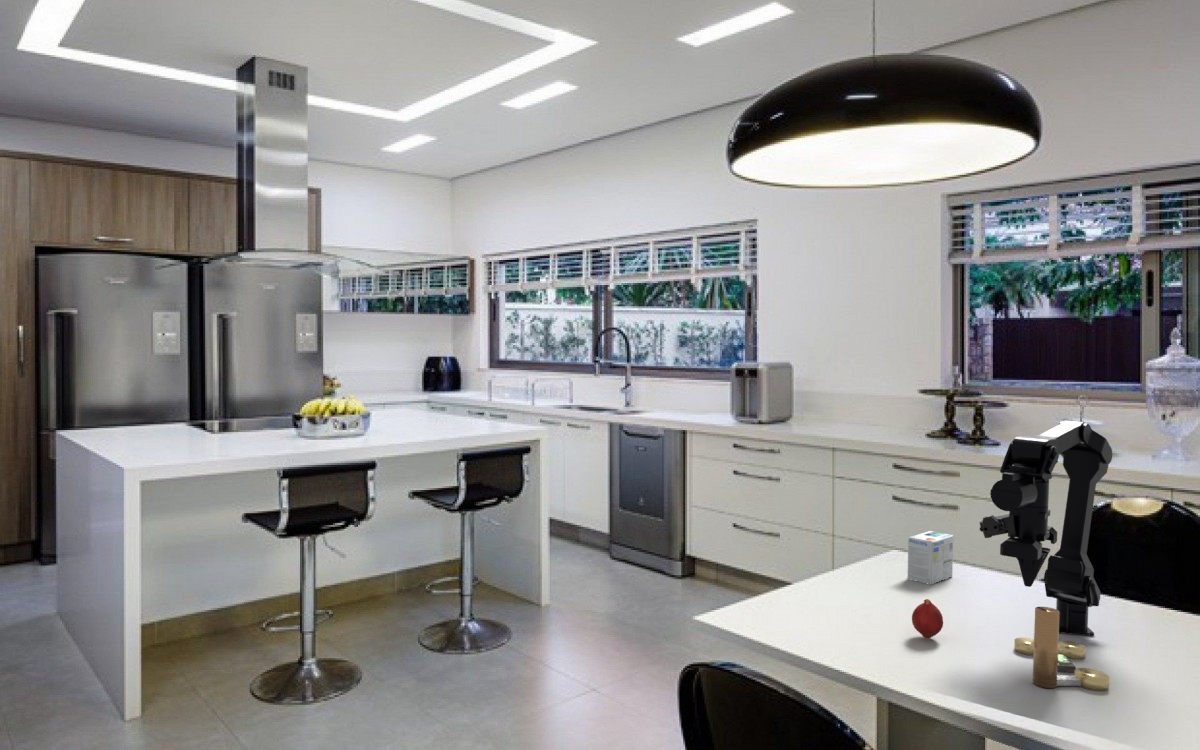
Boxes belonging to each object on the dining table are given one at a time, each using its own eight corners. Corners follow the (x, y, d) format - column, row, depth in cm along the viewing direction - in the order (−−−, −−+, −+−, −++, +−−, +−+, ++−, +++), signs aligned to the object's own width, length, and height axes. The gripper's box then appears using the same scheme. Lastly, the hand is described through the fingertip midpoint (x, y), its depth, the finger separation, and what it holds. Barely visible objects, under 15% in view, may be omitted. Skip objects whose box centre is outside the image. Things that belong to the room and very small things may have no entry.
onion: (917, 630, 166) (918, 592, 166) (946, 637, 162) (947, 598, 162) (907, 638, 162) (908, 599, 161) (937, 646, 158) (938, 605, 157)
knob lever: (1096, 678, 140) (1099, 605, 140) (1115, 690, 135) (1118, 615, 135) (1026, 678, 140) (1028, 605, 139) (1042, 691, 135) (1045, 615, 134)
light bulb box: (927, 571, 208) (929, 529, 208) (953, 577, 203) (954, 534, 203) (906, 579, 201) (907, 536, 201) (932, 585, 196) (933, 541, 196)
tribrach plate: (986, 647, 157) (987, 632, 157) (1101, 657, 153) (1101, 641, 153) (1016, 692, 138) (1016, 674, 138) (1148, 704, 133) (1149, 686, 133)
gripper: (997, 491, 165) (994, 567, 166) (971, 506, 151) (968, 589, 152) (1059, 498, 158) (1056, 578, 159) (1038, 515, 144) (1035, 601, 145)
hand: (1028, 586), depth 154 cm, fingers closed
